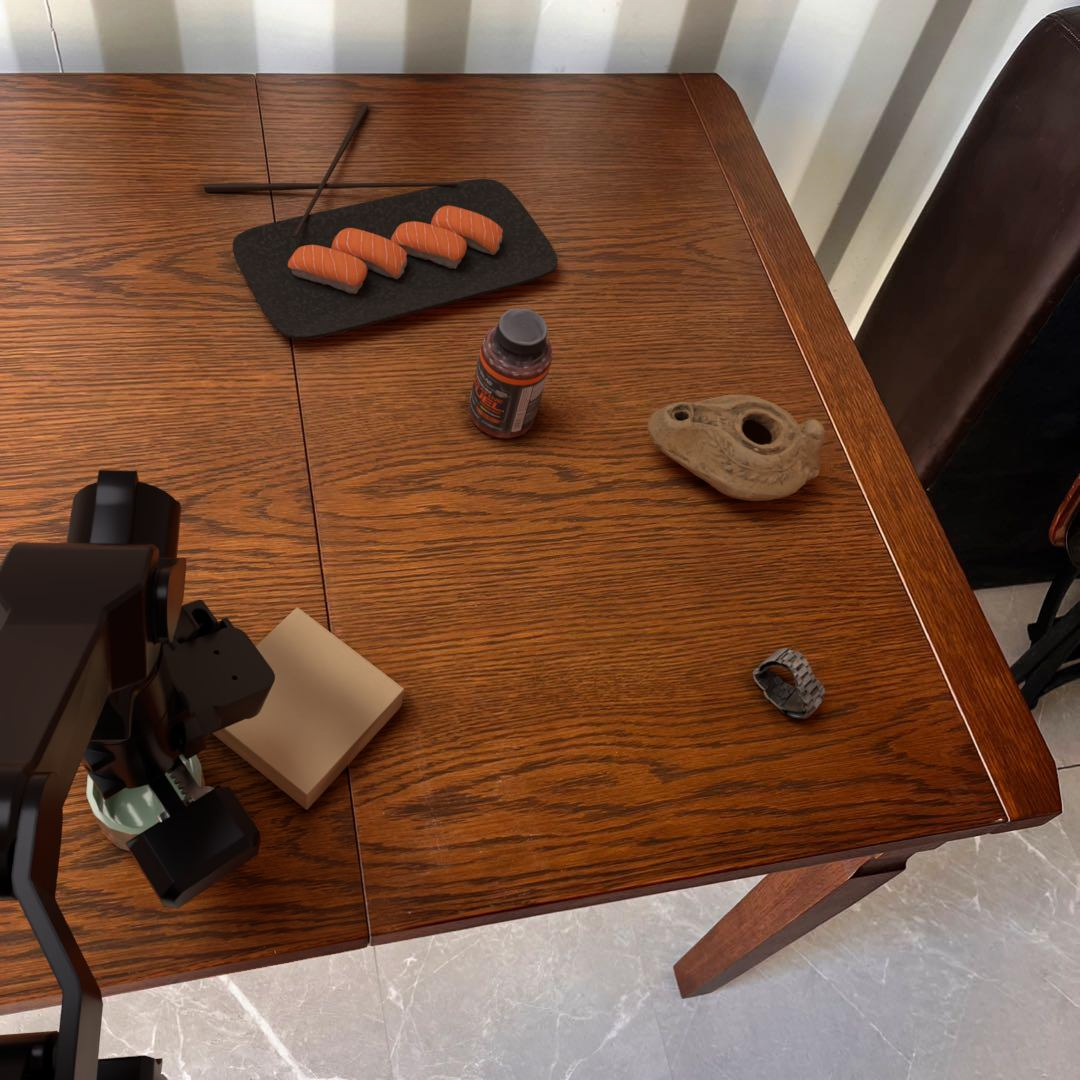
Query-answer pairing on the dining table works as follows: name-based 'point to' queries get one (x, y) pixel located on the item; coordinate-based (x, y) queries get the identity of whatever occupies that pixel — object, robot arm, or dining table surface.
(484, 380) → the supplement bottle
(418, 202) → the sushi plate
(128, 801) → the bowl
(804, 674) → the wristwatch
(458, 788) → the dining table surface
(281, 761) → the plate
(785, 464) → the oil lamp
